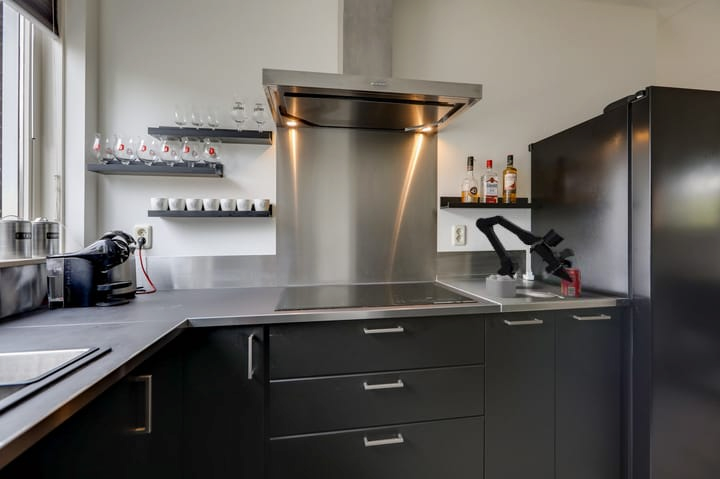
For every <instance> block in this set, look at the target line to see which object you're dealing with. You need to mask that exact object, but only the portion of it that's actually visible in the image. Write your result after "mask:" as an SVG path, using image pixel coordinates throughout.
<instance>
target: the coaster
mask: <svg viewBox="0 0 720 479" xmlns="http://www.w3.org/2000/svg"><path fill="white" fill-rule="evenodd" d="M551 293H552V292H549V293H548V292H544V291H543V292H542V291H527V292H526V293H525V294H526V296H529V297H535V298H545V299H546V298H556V296H555V295H556V294H555V295H554V293H552V294H551Z"/></svg>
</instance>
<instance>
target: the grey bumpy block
mask: <svg viewBox="0 0 720 479" xmlns="http://www.w3.org/2000/svg"><path fill="white" fill-rule="evenodd" d="M514 279H515V278H514ZM514 279H512V278H511V277H510V276H508V275H506V276H501V275H498V274H495V275H494V274H491V275H489V276H487V277H485V294H486V295H487V296H490V297H493V298H498V297H500V298H499V299H501V298H502V299H507V297H514V298H517V280H516V279H515V280H514Z"/></svg>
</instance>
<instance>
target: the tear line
mask: <svg viewBox="0 0 720 479" xmlns="http://www.w3.org/2000/svg"><path fill="white" fill-rule="evenodd" d="M547 293H551V294H554V293H553V292H547ZM554 295H555V297H558V298H560V299H565V296H561V295H558V294H556V293H555V294H554Z"/></svg>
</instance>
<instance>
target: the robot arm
mask: <svg viewBox="0 0 720 479" xmlns="http://www.w3.org/2000/svg"><path fill="white" fill-rule="evenodd" d="M496 225H500V226H501V227H502V228H504V229H506V230H507V231H509V232H511V233H512V234H514V235H515V236H516V237H517V238H518V239H519V240H520V241H521V242H522V243H523V244H524V245H525V246H532V247H530V248H529V254H530V255H531V254H534V253H535V254H537V256H539V257H540V259H541V261H542V262H543V263H546V264H547V266H545V268H544V270H545V272H546V273H547V274H548V275H552V276H554V277H557V278H559V279H564V280H566V281H568V282H573V280H572V278H571V277H570V276H569V275H568V273H567V272H566V271H565V268H573V266H574V265H573V263H574V262H573V261H572V260H571V259H567V258H570V257H574V256H575V255H576V254H575V253H574V250H573V249H572V248H568V247H567V248H564V249H563V250H561V251H559V252H558V251H554V250H553V249H552V248H556V247H557V246H558V245H560V244H561V243H562V242H563V241H564V240H566V237H565V236H564V234H563V233H561V232H559V231H558V230H556V229H555V228H551V229H550V230H549V231H548V232H547V233H546V234H545V235H542V236H541V235H539V234H537V233H535V232H533V231H531V230H528V229H527V230H526V229H525V228H522V227H520V226H519V225H517V224H515V223H514V222H512V221H510V220H509V219H508V218H505V217H504V216H503V215H495V216H489V217H479V218H478V219H476V221H475V227H476V228H477V229H478V230H479V231H480V232H481V233H482V234H484V235H485V237H486V239H487V240H488V242H489V244H490V245H491V247H492V248H493V250H494V251H495V253H496V255H497V256H498V258H499V265H500V268H499V269H498V270H497V271H496V273H497V275H501V276H506V275H508V276H510V277H511V278H512V279H514V280H516V278H515V276H516V273H517V272H518V271H519V270H520V261H518V260H517V257H516V256H515V255H510V254H509V253H508V251H507V249H506V248H505V247H504V245H503V243H502V242H501V240H500V238H499V237H498V236H497V234H496V232H495V229H494V226H496Z"/></svg>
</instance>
